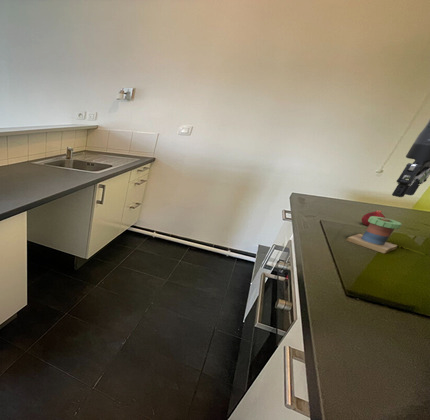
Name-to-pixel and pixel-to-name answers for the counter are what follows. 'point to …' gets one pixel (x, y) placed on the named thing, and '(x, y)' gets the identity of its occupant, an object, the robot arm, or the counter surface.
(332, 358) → the counter surface
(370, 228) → the stand
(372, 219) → the ring
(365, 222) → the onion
